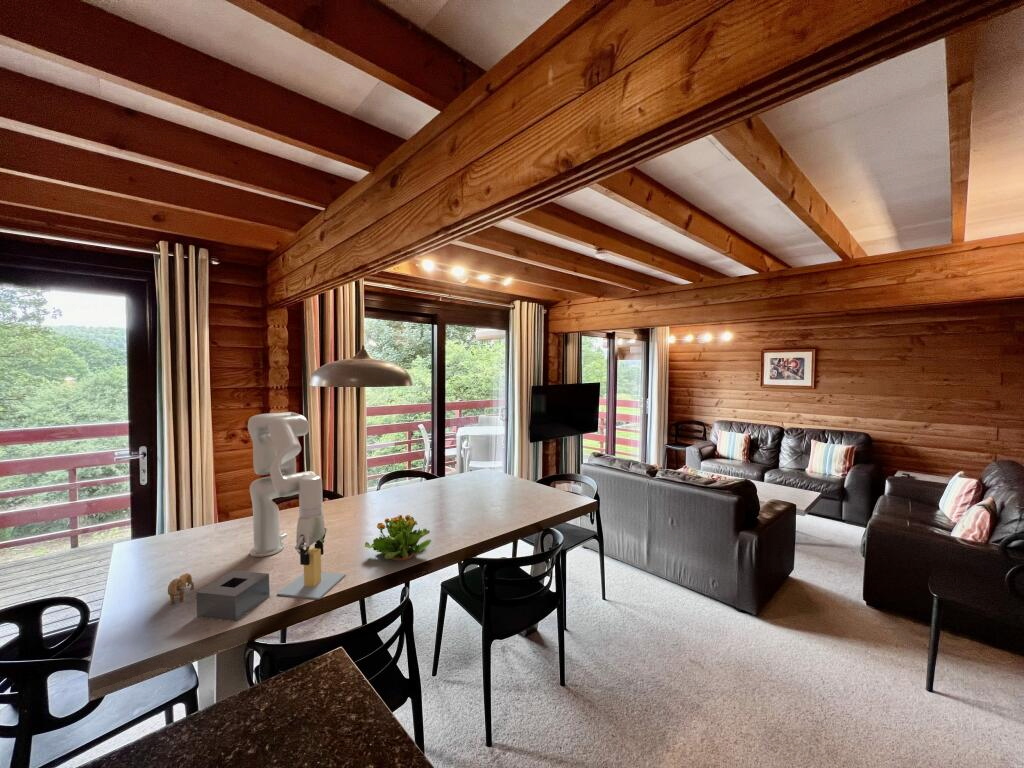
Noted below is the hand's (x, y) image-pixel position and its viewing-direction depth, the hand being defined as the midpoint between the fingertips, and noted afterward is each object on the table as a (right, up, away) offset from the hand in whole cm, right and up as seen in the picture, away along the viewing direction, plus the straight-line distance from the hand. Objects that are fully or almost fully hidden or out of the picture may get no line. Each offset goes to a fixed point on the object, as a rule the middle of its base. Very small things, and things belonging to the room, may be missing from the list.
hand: (312, 559), depth 148 cm
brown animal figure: (-41, -10, -8) cm, 42 cm away
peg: (0, -9, 0) cm, 9 cm away
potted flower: (+27, -9, +23) cm, 37 cm away
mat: (0, -10, 0) cm, 10 cm away
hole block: (-19, -10, -13) cm, 25 cm away
